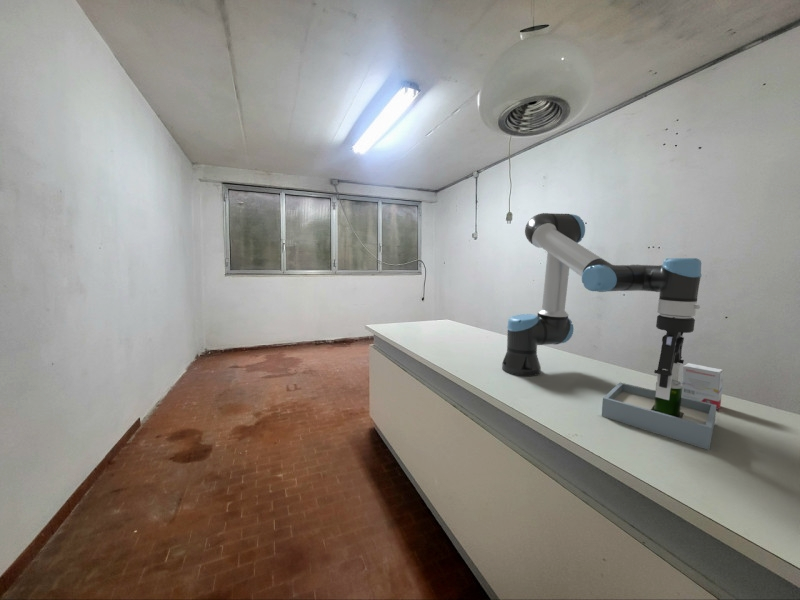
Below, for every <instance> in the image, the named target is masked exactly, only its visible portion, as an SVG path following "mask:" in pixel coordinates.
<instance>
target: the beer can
mask: <svg viewBox="0 0 800 600" xmlns="http://www.w3.org/2000/svg"><path fill="white" fill-rule="evenodd" d="M656 386H657V381H656V383H655V387H656ZM655 395H656V392H655ZM681 397H682V381H679V380H678V381H676V380H673V379H672V381H671V389H670V398H669V400H666V399H662V398H658V397H655V403H654V411H657V412H660V413H664V414H667V415H671V416H675V417H678V418H679V417H680V407H681Z"/></svg>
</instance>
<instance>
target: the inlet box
mask: <svg viewBox="0 0 800 600" xmlns="http://www.w3.org/2000/svg"><path fill="white" fill-rule="evenodd" d="M655 392H656V389H655V390H654V389H649V388H645V387H641V386H637V385H633V384H629V383H626V382H625V383H624V382H621V381H619V382H618V383H617V385H615V386H614V387H613V388H612V389H611V390H610V391H609V392H608V393H607V394H605V395H604V396H603V397H602V406H601V417H604V418H607V419H609V420H613V421H616V422H618V423H623V424H626V425H629V426H632V427H635V428H638V429H642V430H645V431H647V432H650V433H654V434H657V435H660V436H664V437H666V438H669V439H673V440H676V441H679V442H682V443H685V444H687V445H688V444H689V445H691V446H696V447H698V448H701V449H705V450H707V451H710V449H711V448H710V447H711V442H712V438H713V433H714V428H715V424H716V423H715V421H716V413H717V409H716V406H717V405H714V404H710V403H706V402H701V401H697V400H693V399H689V398H684V397H681V407H680V417H679V418H678V417H675V416H671V415H667V414H664V413H660V412H657V411H654V403H655Z"/></svg>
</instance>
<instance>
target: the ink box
mask: <svg viewBox="0 0 800 600" xmlns="http://www.w3.org/2000/svg"><path fill="white" fill-rule="evenodd" d="M681 373H682V374H681V383H682V397H684V398H689V399H693V400H697V401H701V402H706V403H710V404H714V405H717V406H716V410H719V409H720V407H721V404H722V395H723V393H722V392H723V383H724V369H721V368H715V367H710V366H705V365H702V364H695V363H689V362H687V363H685V364H684V365H682V372H681Z"/></svg>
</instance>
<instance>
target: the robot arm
mask: <svg viewBox="0 0 800 600" xmlns="http://www.w3.org/2000/svg"><path fill="white" fill-rule="evenodd" d="M585 233H586V225H585V221H584V220H583V219H582V218H581V217H580V216H579V215H577V214H571V213H553V212H551V213H550V212H549V213H548V212H541V213H538V214H535V215H534V216H532V217H531V218H530V219H529V220H528V221H527V223H526V225H525V228H524V235H525V237H526V239H527V240H528V242H529V243H530V244H532V245H533V246H534V247H536V248H539V249H540V248H541V249H543V250H545V252H546V255H547V256H546V265H545V272H544V273H545V274H544V275H545V276H544V284H543V285H544V286H543V296H542V307H541V308H540V309H539V310H538V311H537V314H531V313H526V314H525V313H524V314H523V313H522V314H521V313H520V314H515V315H512V316H511V317H510V318H508V321H507V327H506V328H507V329H506V330H507V340H506V342H507V344H506V353H505V355H504V357H503V361H502V363H501V368H502V370H503V372H505V373H507V374H508V373H509V374H512V375H514V376H515V375H516V376H519V377H535V376H538V375H541V364H540V361H539V357H538V354H537V353H538V346H544V345H545V346H546V345H547V346H548V345H549V346H550V345H560V344H565V343H567V342H568V341H569V340H571V338H572V337H573V334H574V324H572V323H573V322H572V320H571V319H570V318H569V314H568V312H567V311H566V310H565V309H566V301H567V291H568V282H569V275H570V270H571V271H573V272H574V273H575V274H577V275H579V276H580V278H581V283H582V284H583V287H584V288H585V289H586V290H588V291H590V292H599V293H606V292H629V291H630V292H632V291H633V292H635V291H636V292H637V291H638V292H639V291H640V292H641V291H642V292H643V291H644V292H656V293H659V298H658V305H657V313H658V315H657V317H656V322H655V323H656V324H655V328H657V329H658V330H661V331H665V332H666V333H665V334H664V335H662V338H661V348H660V349H661V350H660V355H659V361H658V364H657V365H658V366H657V369H654V374H657V377H656V382H657V386H656V385H655V391H656V395H655V397H658V398H662V399H666V400H669V398H670V389H671V381H672V379H673V380H676V381H679V375H680V369H681V368H680V367H681V364H684V362H685V359H682V358H683V357H682V353H683V352H682V350H683V343H684V341H685V337H684V336H683V334H686V333H687V334H688V333H692V332H694V331H695V330H694V329H695V323H696V322H695V321H696V319H694V317H695V316H696V312H697V310H699V309H700V308H701V306H700V305H699V304H697V303H698V302H697V301H698V296H699V288H700V281H701V279H702V278H701V277H702V260H701V259H699V258H695V257H694V258H693V257H680V258H679V257H676V258H674V257H673V258H671V257H669V258H665V259H664V260H663V262H662V264H661V265H659V264H658V265H654V264H653V265H652V264H649V265H648V264H630V265H629V264H627V265H626V264H625V265H624V264H621V265H620V264H618V265H617V264H613V263H610V262H609V261H607V260H605V259H604V258H602V257H600V256H599V255H597V254H596V253H594V252H592V251H590V250H589V249H588V248H586V247H584V246H583V245H582V244H579V243H580V242H581V241H582V239H584V237H585V235H586V234H585Z"/></svg>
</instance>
